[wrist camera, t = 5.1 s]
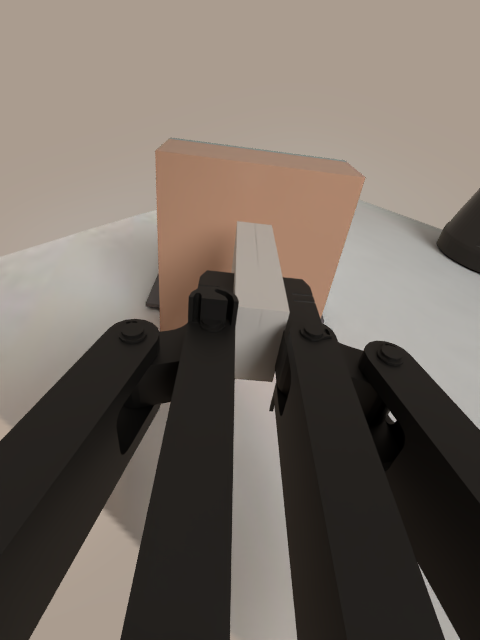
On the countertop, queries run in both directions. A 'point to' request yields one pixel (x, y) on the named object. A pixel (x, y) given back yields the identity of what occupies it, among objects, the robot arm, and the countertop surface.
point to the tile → (247, 215)
